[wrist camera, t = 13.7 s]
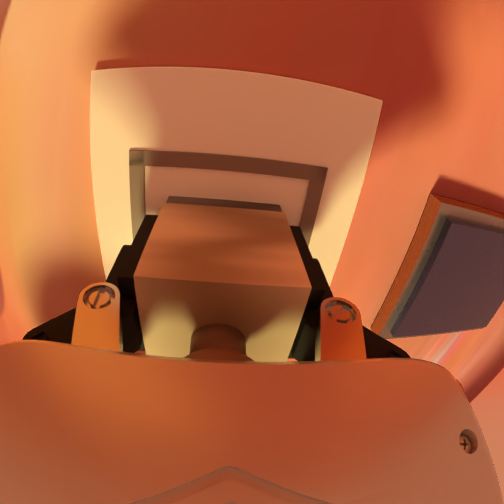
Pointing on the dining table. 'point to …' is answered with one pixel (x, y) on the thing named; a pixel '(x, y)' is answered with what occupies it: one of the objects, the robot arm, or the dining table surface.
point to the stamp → (221, 282)
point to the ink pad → (447, 273)
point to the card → (227, 149)
